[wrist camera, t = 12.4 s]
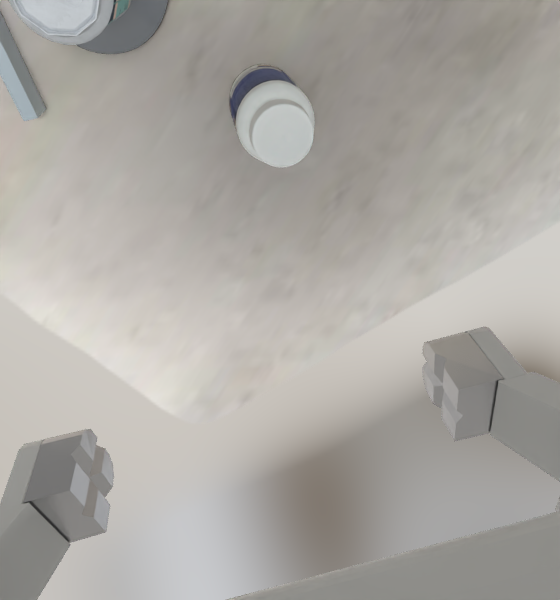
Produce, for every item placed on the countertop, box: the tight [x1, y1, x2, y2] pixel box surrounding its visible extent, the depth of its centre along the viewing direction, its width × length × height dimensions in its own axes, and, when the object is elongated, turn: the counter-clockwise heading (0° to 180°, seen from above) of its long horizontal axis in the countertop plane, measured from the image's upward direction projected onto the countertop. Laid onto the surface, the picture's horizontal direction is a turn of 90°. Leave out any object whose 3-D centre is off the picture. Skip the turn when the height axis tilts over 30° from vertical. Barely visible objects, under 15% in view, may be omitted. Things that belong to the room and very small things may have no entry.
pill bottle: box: [229, 64, 315, 168], centre depth 33 cm, size 5×5×10 cm
